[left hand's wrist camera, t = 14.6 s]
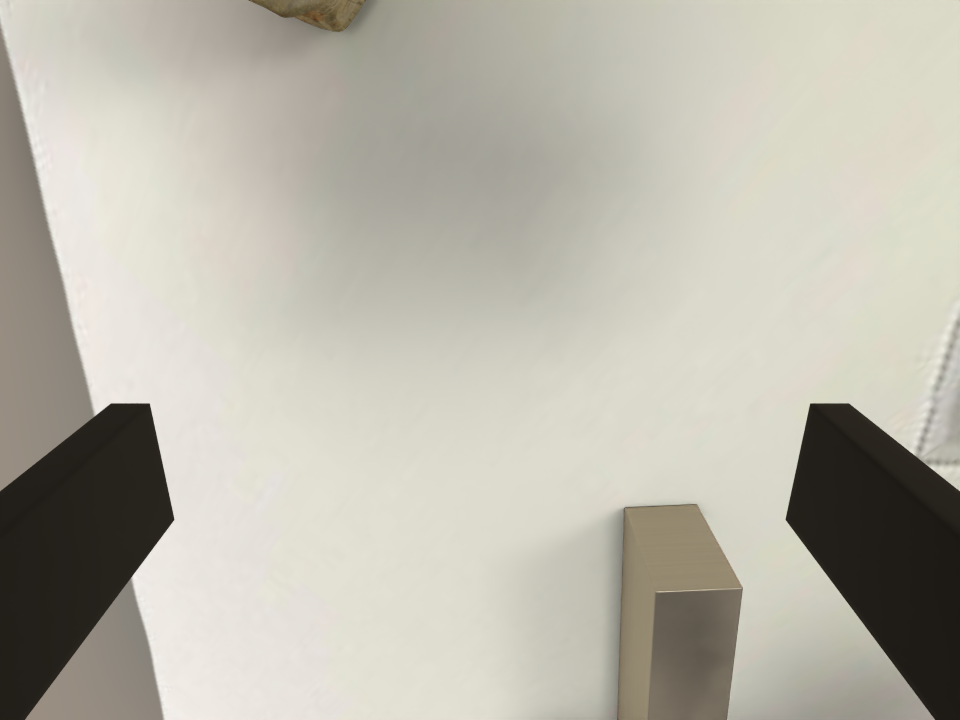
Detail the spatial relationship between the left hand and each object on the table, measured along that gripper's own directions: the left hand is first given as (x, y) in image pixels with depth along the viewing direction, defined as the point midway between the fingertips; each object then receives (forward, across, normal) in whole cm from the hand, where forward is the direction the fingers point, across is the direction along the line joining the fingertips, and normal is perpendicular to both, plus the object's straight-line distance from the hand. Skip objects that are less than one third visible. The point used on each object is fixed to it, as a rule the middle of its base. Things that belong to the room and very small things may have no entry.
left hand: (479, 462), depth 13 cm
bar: (+27, +14, -32) cm, 44 cm away
